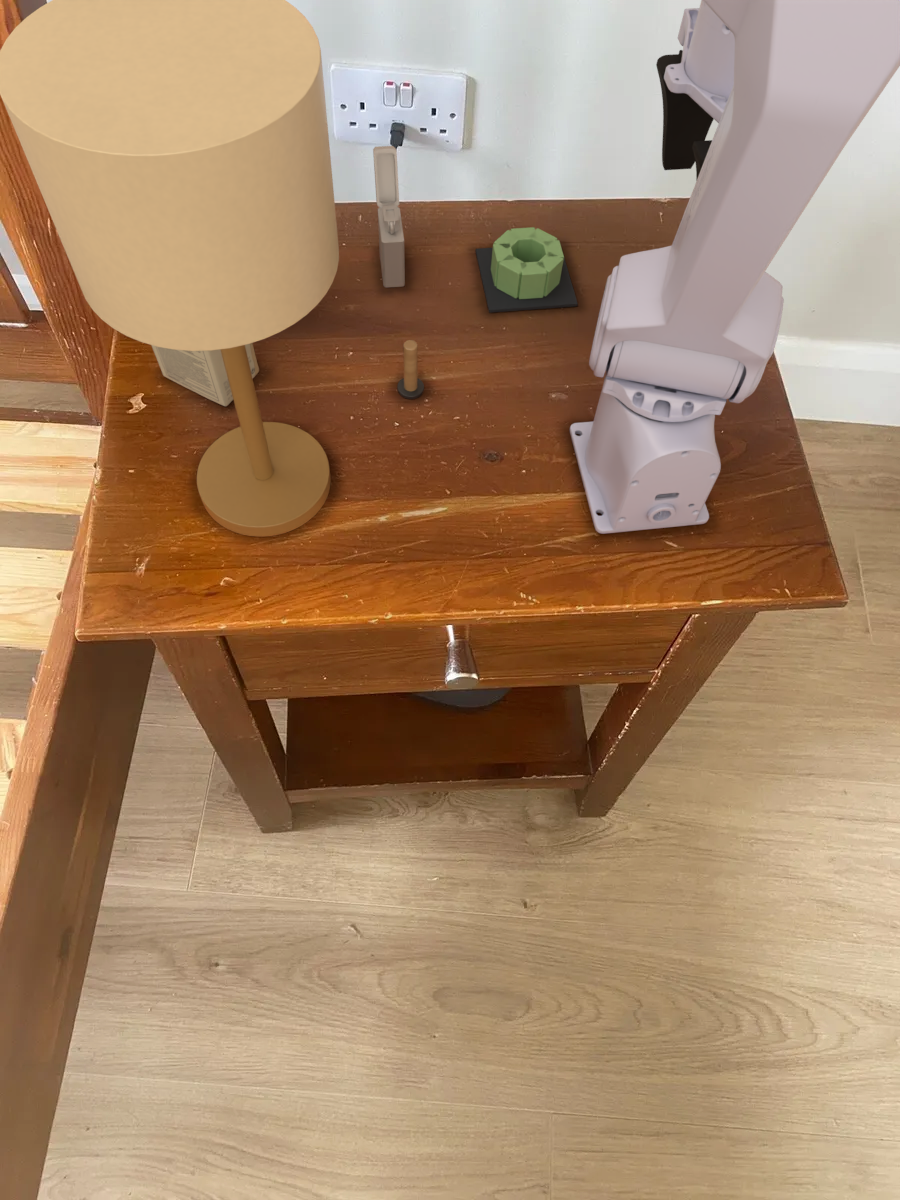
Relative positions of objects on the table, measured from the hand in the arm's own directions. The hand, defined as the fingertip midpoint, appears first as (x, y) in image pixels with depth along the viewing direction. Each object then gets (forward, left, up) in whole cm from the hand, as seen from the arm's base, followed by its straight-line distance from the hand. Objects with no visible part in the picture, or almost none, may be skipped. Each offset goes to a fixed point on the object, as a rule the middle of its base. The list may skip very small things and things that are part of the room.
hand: (690, 200), depth 63 cm
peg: (-7, +21, -9) cm, 24 cm away
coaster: (+4, +10, -9) cm, 14 cm away
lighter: (+8, +21, -10) cm, 24 cm away
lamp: (-14, +32, -9) cm, 36 cm away
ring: (+4, +10, -9) cm, 14 cm away
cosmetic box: (-4, +36, -10) cm, 37 cm away
